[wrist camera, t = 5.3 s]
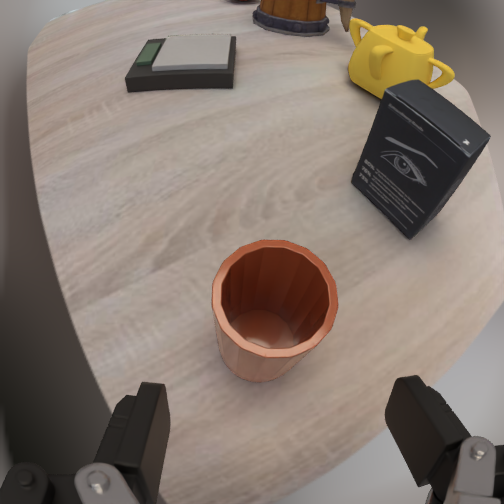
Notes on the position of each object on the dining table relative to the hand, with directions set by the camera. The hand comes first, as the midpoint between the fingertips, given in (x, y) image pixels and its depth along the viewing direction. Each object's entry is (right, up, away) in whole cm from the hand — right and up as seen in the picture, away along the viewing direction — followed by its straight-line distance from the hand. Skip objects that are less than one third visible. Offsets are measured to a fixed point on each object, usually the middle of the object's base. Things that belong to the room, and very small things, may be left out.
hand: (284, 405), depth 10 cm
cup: (-1, -1, +11) cm, 11 cm away
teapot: (+18, +28, +29) cm, 44 cm away
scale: (-10, +30, +27) cm, 42 cm away
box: (+12, +10, +18) cm, 24 cm away
